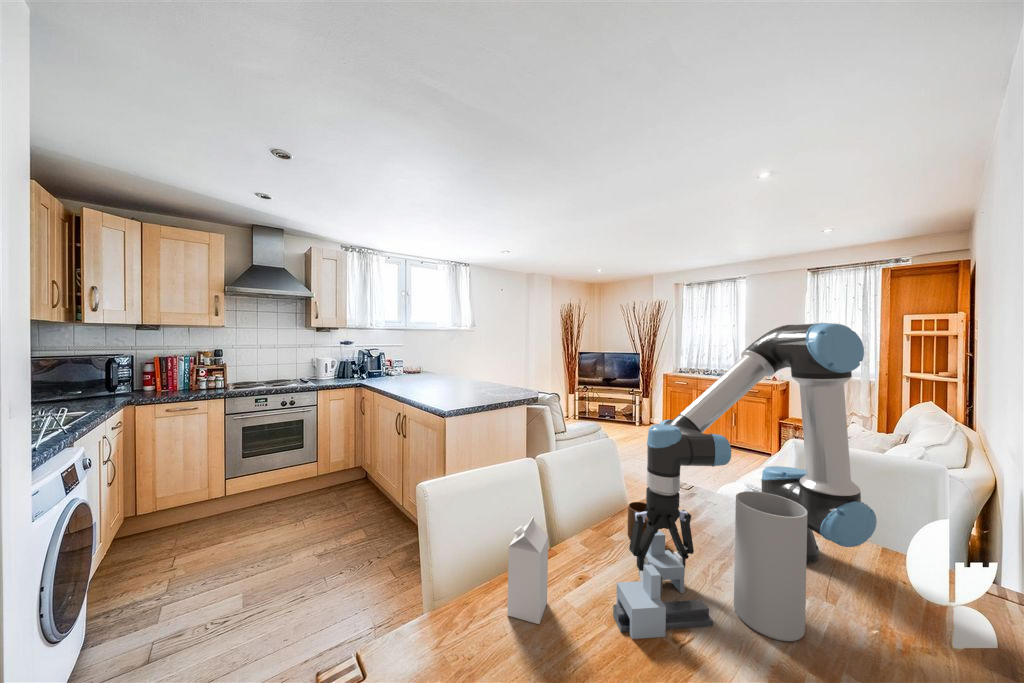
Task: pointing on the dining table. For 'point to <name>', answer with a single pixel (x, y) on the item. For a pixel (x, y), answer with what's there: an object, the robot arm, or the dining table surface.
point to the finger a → (644, 604)
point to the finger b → (665, 562)
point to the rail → (672, 615)
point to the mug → (631, 508)
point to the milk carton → (528, 573)
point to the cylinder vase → (770, 564)
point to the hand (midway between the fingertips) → (660, 581)
